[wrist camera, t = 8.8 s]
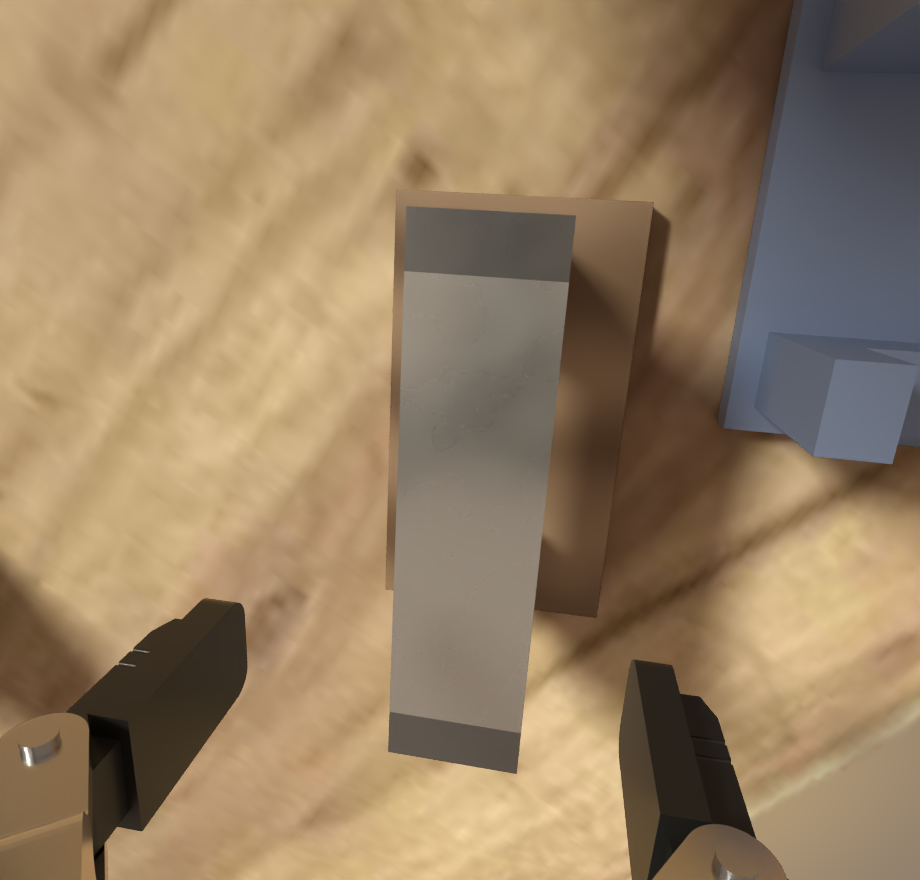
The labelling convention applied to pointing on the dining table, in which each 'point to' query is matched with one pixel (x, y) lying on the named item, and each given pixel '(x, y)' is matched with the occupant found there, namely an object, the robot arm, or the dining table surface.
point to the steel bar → (473, 474)
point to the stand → (562, 382)
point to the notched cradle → (836, 241)
